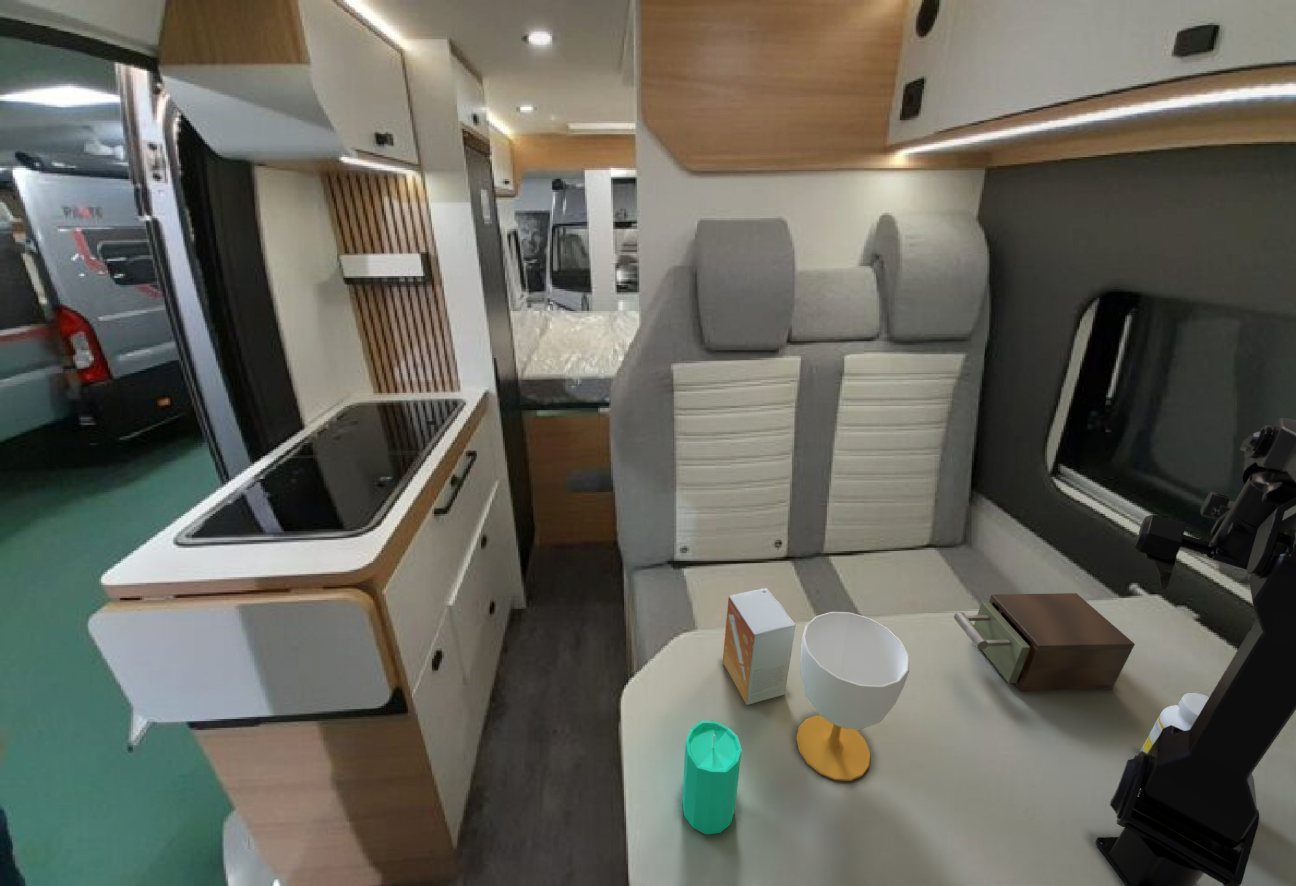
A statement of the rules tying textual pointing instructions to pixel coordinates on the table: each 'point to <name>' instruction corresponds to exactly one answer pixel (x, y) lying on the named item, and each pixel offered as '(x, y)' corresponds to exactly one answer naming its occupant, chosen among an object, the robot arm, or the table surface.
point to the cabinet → (1065, 642)
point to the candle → (710, 776)
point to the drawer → (997, 640)
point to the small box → (758, 645)
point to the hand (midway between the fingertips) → (1208, 604)
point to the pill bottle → (1177, 717)
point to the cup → (847, 689)
